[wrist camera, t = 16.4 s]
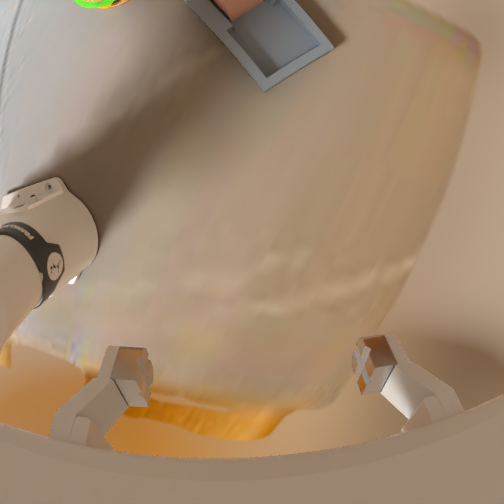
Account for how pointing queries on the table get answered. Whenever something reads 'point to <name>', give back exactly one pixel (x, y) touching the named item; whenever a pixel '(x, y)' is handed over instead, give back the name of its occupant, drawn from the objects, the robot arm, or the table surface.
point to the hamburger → (100, 3)
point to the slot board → (267, 38)
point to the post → (236, 7)
